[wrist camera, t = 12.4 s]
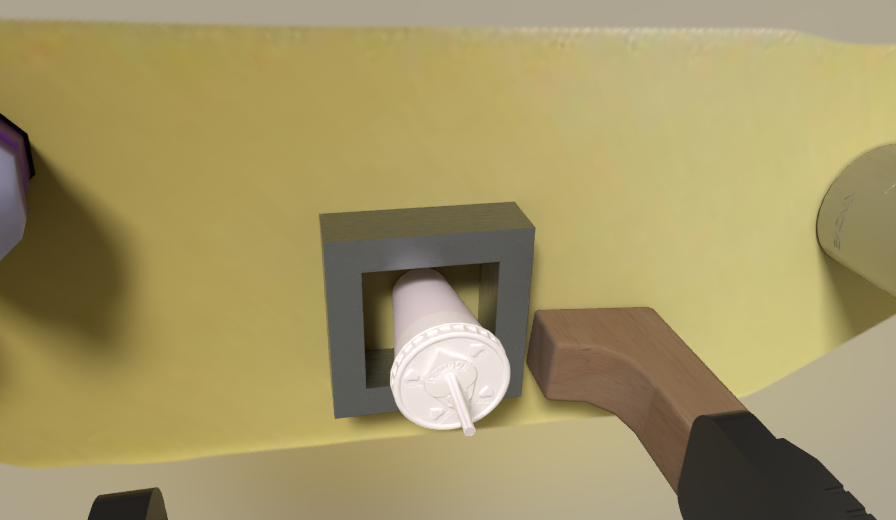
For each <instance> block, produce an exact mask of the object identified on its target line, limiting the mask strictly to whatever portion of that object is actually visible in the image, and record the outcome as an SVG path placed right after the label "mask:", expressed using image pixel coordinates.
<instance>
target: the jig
mask: <svg viewBox="0 0 896 520" xmlns="http://www.w3.org/2000/svg"><path fill="white" fill-rule="evenodd" d="M319 218H320V232H321V246H322V260H323V275H324V289H325V303H326V317H327V332H328V346H329V360H330V374H331V386H332V396H333V405H334V415H335V419H337V418H345V417H354V416H362V415H370V414H378V413H386V412H394V411H400V410H399V408H398V406H397V404H396V402H395V398H394V396H393V393H392V389H391V386H390V372H391V368H392V366H393V363H394V360H395V351H394V348H393V349H383V350H374V351H365V347H364V323H363V299H362V274H361V273H365V272H378V271H390V270H403V269H415V268H427V267H440V266H452V265H464V264H477V263H481V268H480V288H479V309H478V323H479V324H480V325H481V326H482V328H484V329H486V330H488V331H490V332H491V333H492V334H493V335H494V336H495V337H496V338H497V339H499V341H500V343H501V344H502V346H503V348H504V350H505V353H506V356H507V358H508V361H509V365H510V381H509V385H508V388H507V391H506V393H505V395H504V397H503V398H508V397H517V396H521V388H522V376H523V365H524V353H525V342H526V330H527V319H528V307H529V296H530V284H531V273H532V261H533V250H534V238H535V227H534V225H533V224H532V223H531V222H530V220H529V219H528V218H527V217H526V215H525V214H524V213H523V212H522V211H521V209H520V208H519V207H518V206H517V204H516V203H515V202H505V203H489V204H473V205H457V206H442V207H426V208H410V209H394V210H378V211H362V212H346V213H330V214H319Z"/></svg>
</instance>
